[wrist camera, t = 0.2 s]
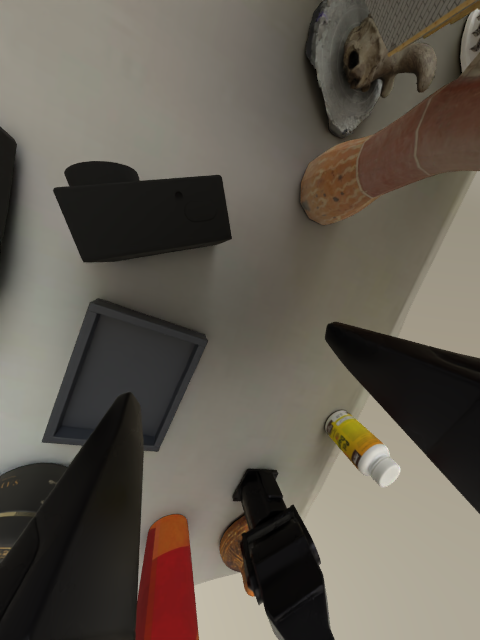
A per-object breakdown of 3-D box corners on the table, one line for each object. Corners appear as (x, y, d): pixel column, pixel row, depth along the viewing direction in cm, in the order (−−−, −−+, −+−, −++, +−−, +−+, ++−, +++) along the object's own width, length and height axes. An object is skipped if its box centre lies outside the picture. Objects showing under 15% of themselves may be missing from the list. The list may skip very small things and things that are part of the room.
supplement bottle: (321, 417, 35) (375, 474, 26) (347, 403, 36) (406, 454, 27) (324, 438, 37) (375, 498, 28) (348, 425, 38) (404, 479, 29)
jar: (51, 442, 22) (-6, 526, 15) (106, 488, 26) (81, 572, 19) (-47, 494, 21) (-161, 614, 14) (27, 535, 24) (-32, 645, 17)
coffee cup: (161, 553, 32) (150, 767, 19) (127, 535, 29) (84, 778, 16) (204, 521, 33) (224, 702, 20) (176, 499, 30) (177, 699, 16)
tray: (159, 437, 26) (158, 451, 24) (53, 426, 22) (41, 442, 20) (205, 334, 24) (208, 340, 22) (98, 298, 20) (89, 302, 18)
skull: (367, -18, 19) (436, -136, 14) (405, 108, 23) (472, 53, 17) (288, 40, 19) (327, -58, 14) (338, 158, 23) (386, 119, 17)
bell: (211, 560, 37) (218, 625, 30) (229, 512, 35) (242, 572, 28) (264, 547, 41) (280, 602, 35) (283, 504, 39) (306, 554, 32)
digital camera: (205, 187, 20) (220, 152, 13) (216, 244, 21) (233, 238, 15) (90, 198, 17) (39, 162, 11) (113, 261, 19) (81, 262, 13)
